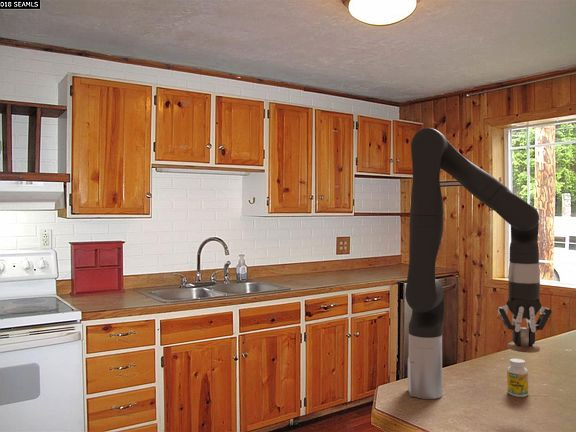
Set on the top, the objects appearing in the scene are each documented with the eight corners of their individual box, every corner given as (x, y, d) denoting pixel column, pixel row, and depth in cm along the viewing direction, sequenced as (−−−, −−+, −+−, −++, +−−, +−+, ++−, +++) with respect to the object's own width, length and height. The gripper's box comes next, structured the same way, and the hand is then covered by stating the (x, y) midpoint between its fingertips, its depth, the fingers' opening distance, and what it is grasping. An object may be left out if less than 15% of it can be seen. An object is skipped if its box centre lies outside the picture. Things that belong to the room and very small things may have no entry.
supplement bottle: (528, 392, 146) (528, 359, 145) (527, 398, 141) (527, 364, 141) (508, 389, 148) (508, 356, 148) (506, 395, 143) (506, 361, 143)
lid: (513, 352, 130) (513, 331, 130) (503, 344, 138) (504, 324, 138) (544, 353, 129) (544, 332, 129) (533, 344, 137) (533, 325, 137)
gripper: (500, 281, 130) (500, 348, 131) (557, 282, 129) (557, 350, 129) (492, 277, 138) (492, 341, 138) (546, 278, 136) (545, 342, 137)
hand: (523, 345), depth 134 cm, fingers closed on lid, 2 cm apart
